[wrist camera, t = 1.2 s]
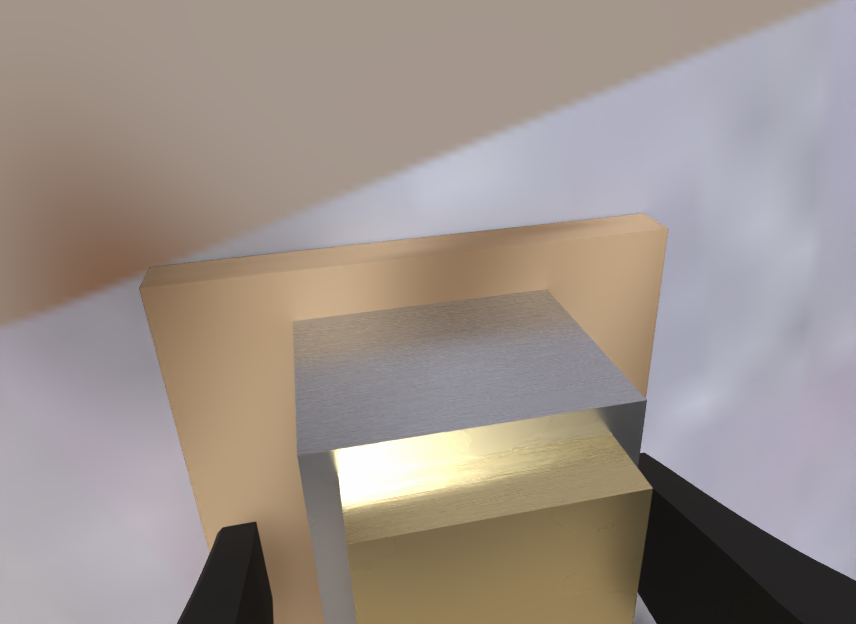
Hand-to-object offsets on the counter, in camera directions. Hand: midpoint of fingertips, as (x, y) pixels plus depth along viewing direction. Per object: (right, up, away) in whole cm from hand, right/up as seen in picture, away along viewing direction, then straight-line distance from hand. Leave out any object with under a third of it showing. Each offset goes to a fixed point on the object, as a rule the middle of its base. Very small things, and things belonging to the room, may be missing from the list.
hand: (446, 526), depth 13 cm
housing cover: (+1, -1, -2) cm, 2 cm away
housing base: (0, +1, +2) cm, 2 cm away
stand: (0, +1, +2) cm, 3 cm away
